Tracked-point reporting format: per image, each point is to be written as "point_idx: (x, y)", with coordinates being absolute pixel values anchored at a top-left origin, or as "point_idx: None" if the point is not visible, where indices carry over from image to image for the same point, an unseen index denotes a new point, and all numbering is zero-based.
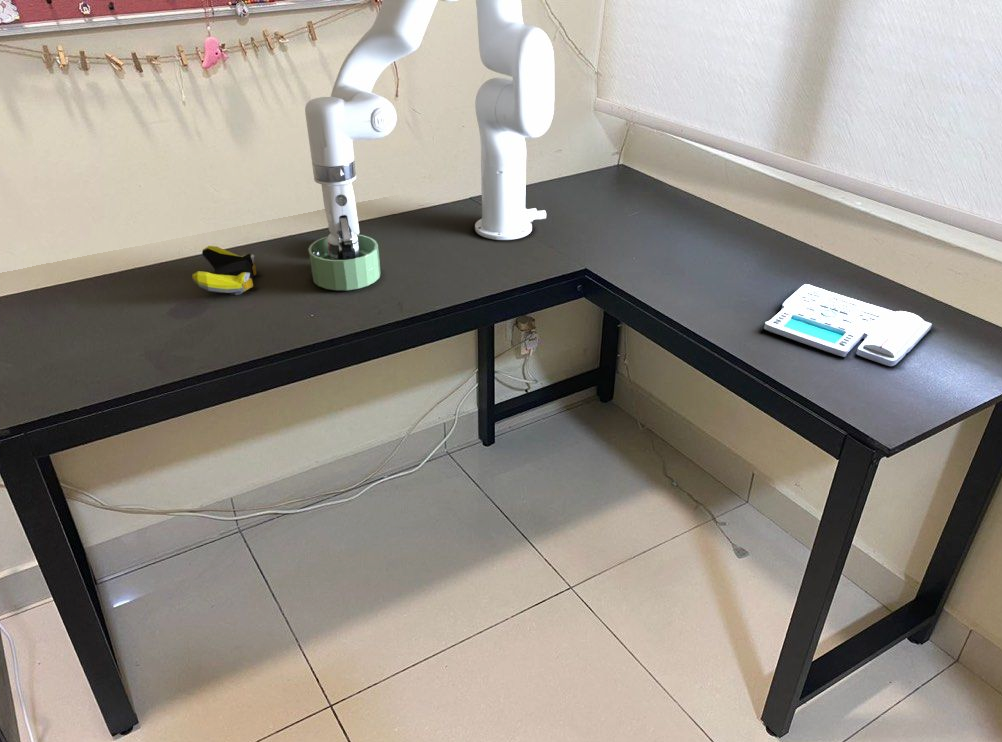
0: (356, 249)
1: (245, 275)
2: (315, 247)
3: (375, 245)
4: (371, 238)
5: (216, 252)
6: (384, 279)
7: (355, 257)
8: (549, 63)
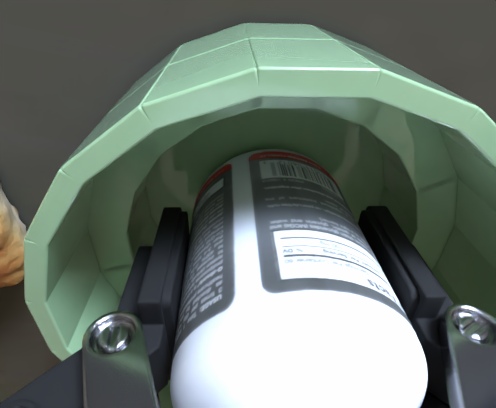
0: (370, 258)
1: None
2: None
3: (390, 101)
4: (178, 103)
5: None
6: (366, 11)
7: (416, 252)
8: None
